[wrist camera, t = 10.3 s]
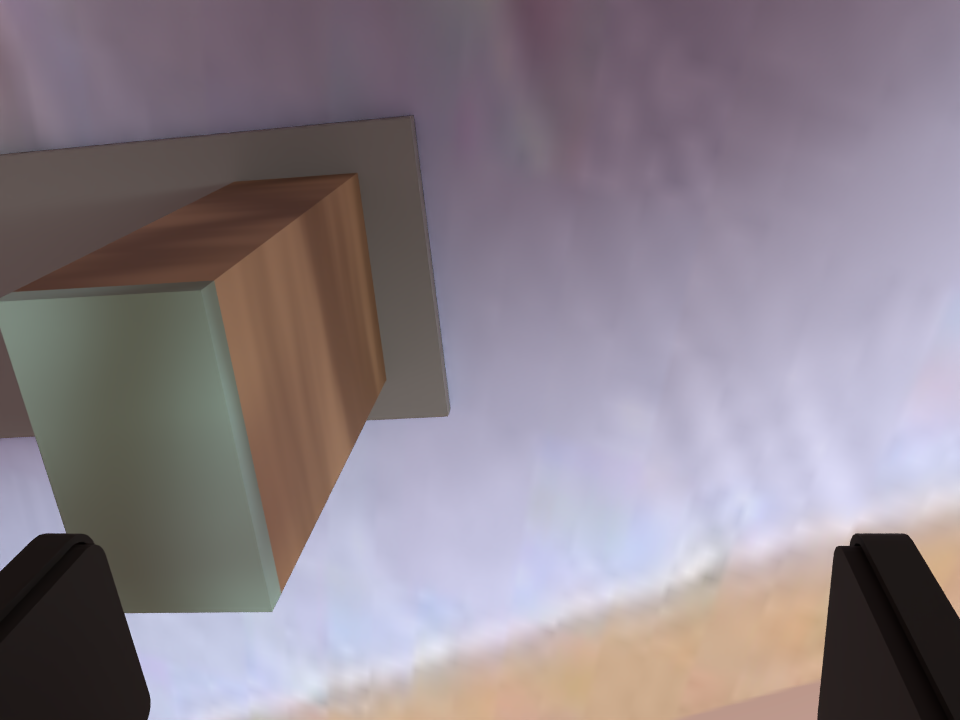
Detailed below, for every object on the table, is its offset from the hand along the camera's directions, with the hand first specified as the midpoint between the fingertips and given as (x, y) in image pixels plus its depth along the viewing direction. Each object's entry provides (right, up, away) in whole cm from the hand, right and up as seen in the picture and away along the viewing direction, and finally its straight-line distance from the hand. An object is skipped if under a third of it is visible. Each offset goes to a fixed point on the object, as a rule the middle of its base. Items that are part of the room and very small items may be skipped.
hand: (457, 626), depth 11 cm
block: (-5, +6, +17) cm, 18 cm away
